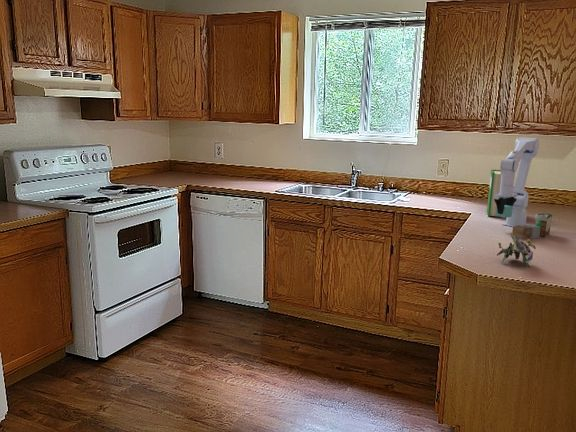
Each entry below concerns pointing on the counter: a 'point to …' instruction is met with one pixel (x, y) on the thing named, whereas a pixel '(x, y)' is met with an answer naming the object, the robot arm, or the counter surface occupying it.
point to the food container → (543, 223)
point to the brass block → (521, 232)
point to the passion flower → (519, 250)
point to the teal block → (505, 212)
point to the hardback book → (493, 191)
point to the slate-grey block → (534, 231)
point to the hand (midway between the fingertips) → (503, 213)
